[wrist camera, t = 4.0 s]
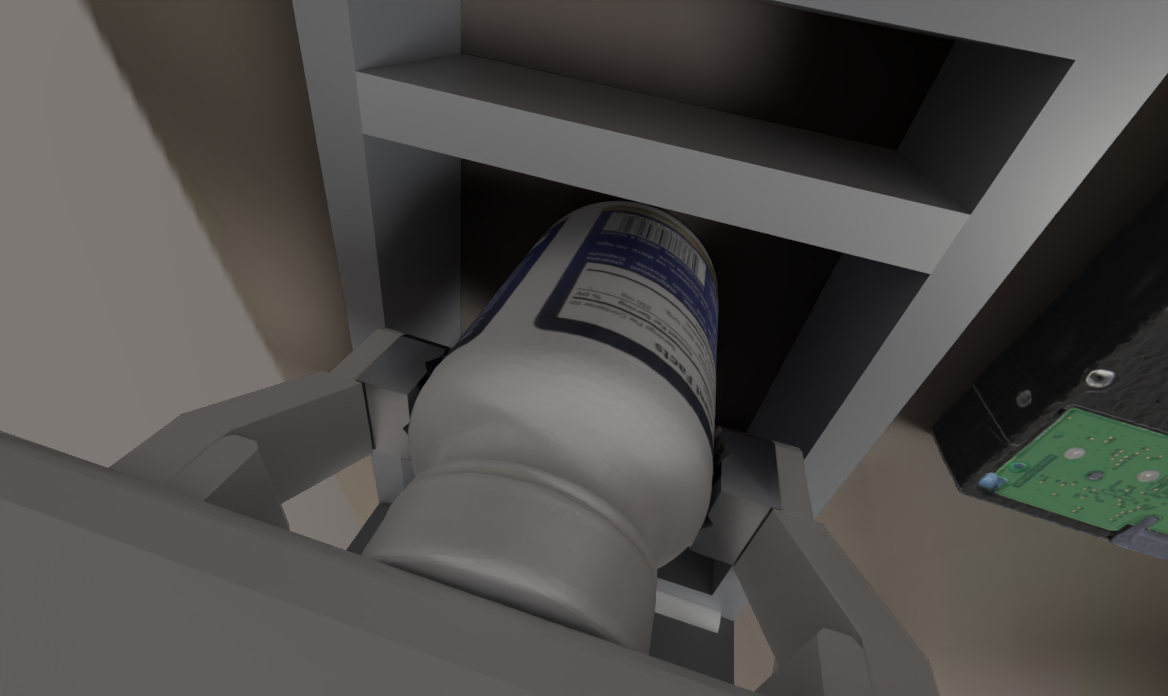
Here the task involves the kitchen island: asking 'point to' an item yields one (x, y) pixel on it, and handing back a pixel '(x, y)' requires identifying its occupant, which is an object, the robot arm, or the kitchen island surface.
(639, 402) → the pill bottle
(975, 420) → the disk drive
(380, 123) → the hinged lid box
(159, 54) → the kitchen island surface
